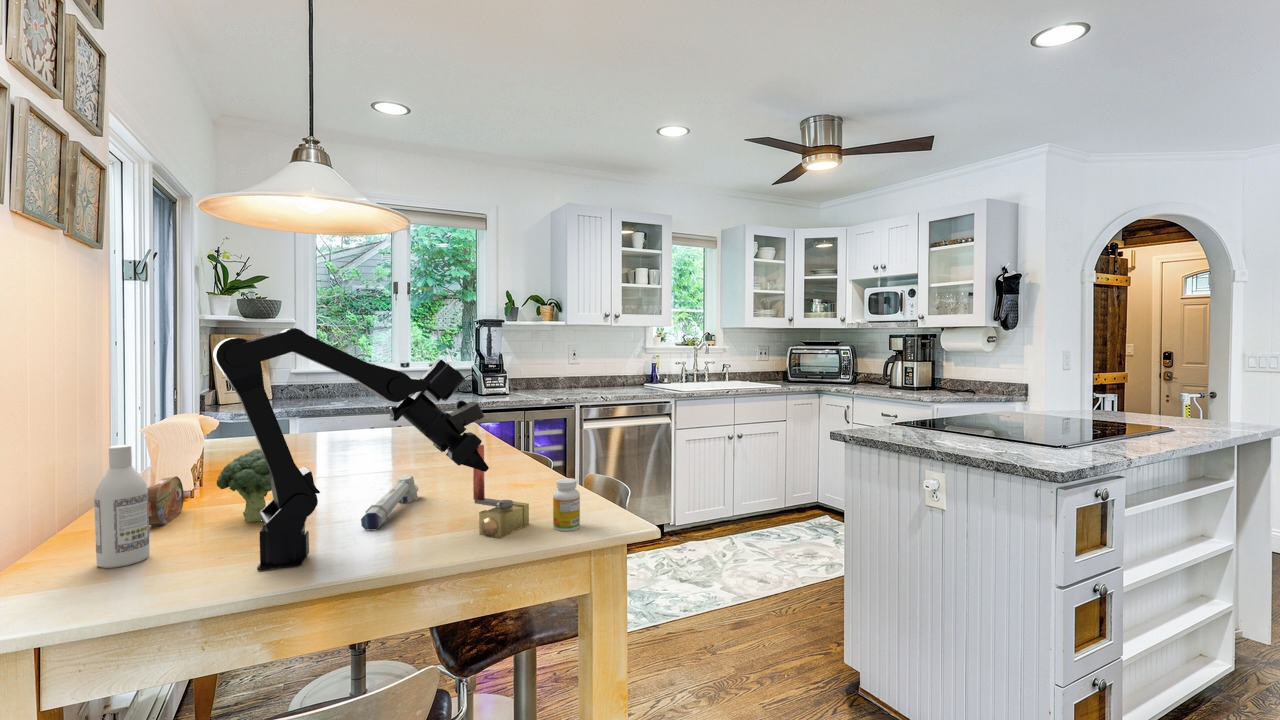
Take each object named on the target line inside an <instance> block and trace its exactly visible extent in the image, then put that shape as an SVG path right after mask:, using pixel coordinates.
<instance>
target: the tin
mask: <svg viewBox="0 0 1280 720" xmlns="http://www.w3.org/2000/svg"><path fill="white" fill-rule="evenodd" d="M183 487H184V486H183V483H182V481H181V479H180V477H179V476H172V477H164V478H161V479H160V480H158V481H156V482H155V483H153V484H152V485H150V486H147V489H148V509H149V527H150V526H151V527H153V526H154V527H155V526H161V525H162V526H163V525H164V526H165V525H168V524H169V523H171V522H172V520H174V519H175V518H176V517H178V516H179V515H180V514H181V512H182V511H183V506H184V499H185V498H184V497H185V496H184V494H185V493H184V488H183ZM167 523H168V524H167Z"/></svg>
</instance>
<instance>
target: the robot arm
mask: <svg viewBox="0 0 1280 720" xmlns="http://www.w3.org/2000/svg"><path fill="white" fill-rule="evenodd" d="M290 353H294V354H296V355H299V356H301V357H303V358H305V359H307V360H310V361H311V362H314V363H316V364H318V365H321V366H323V367H325V368H327V369H329V370H331V371H333V372H335V373H337V374H338V373H339V374H341V375H343V376H345V377H348V378H350V379H352V380H354V381H355V382H356V383H358V385H360V386H362V387H363V388H365V389H366V390H367V391H369V392H370V393H372V394H374V396H376V397H378V398H379V399H381V400H385V401H389V402H392V403H398V405H396V406H390V407H389V420H390V421H392V422H397V421H399V420H400V419H401V417H403V418H404V419H405V420H406V421H408V422H409V424H411V425H412V426H413V427H414V428H416V429H417V430H418V431H419V432H420V433H421V434H422V435H423V436H425V437H426V438H427V439H428V440H429V441H431V442H432V445H433V446H434V447H435V448H436V449H437V450H438V451H439V452H441V453H444V452H446V451H447V453H446V454H445V456H446V457H448V458H449V459H450V460H451V461H453V463H455V464H456V465H457V466H458V467H459V466H465V467H469V468H471V469H473V468H475V469H478V470H481V471H484V473H485V472H487V471H488V470H489V469H490V467H489V465H488V463H486V461H485V459H484V460H483V458H482V457H481V455H480V454H479V453H478V451H477V449H476V448H477V447H478V446H479V445H482V441H483V440H482V439H481V438H479V437H478V436H477V435H476V434H475V433H473V432H470V431H469V432H465V431H467V428H466V427H467V426H468V425H471V424H473V423H475V421H478V420H479V421H480V420H482V419H483V418H485V415H484V412H483V410H482V409H481V407H480V404H479V402H477V401H473V400H472V401H469V402H466V401H465V400H462V399H460V400H458V401H456V402H455V404H454V409H453V410H452V411H451V412H450V413H449V412H447V411H445V410H442V409H441V408H440V407H439V406H438V405H437V404H436V403H439V402H440V401H444V402H447V401H448V400H449V399H450V397H452V395H454V393H455V392H456V391H457V390H458V389H459V388H460V387H461V386H462V385H463V383H464V382H465V381H466V379H465V377H464V376H463V374H462V373H461V372H460V371H459V370H457V369H456V368H454V367H452V366H451V365H450V364H448V363H446V362H445V361H444V360H443V359H436V360H435V361H434V362H433V363H432V365H431V366H430V368H429V369H428V370H427V371H426V372H425V373H424V374H423V375H422V376H421V377H416V376H412V377H411V376H409V375H408V374H407V373H405V372H402V371H399V370H395V369H392V368H389V367H384V366H381V365H377V364H373V363H369V362H367V361H364V360H362V359H360V358H358V357H356V356H354V355H352V354H350V353H347V352H345V351H343V350H341V349H339V348H338V347H335V346H333V345H331V344H329V343H326V342H324V341H322V340H320V339H317V338H316V337H313V336H311V335H309V334H307V333H306V332H305V331H304V330H302V329H300V328H296V327H295V328H286V329H283V330H282V331H278V332H276V333H275V332H274V333H272V334H267V335H263V336H259V337H254V338H250V339H246V338H241V337H230V338H225V339H223V340H221V341H220V342H219V343H217V345H216V346H215V347H214V350H213V354H212V355H213V360H214V362H215V365H217V367H218V369H219V370H220V372H221V373H222V375H223V376H224V378H225V379H226V380H227V382H228V383H229V385H230V386H231V387H232V389H233V390H234V392H235V393H236V394H237V396H238V398H239V401H240V403H241V405H242V408H243V410H244V413H245V415H246V417H247V420H248V422H249V424H250V427H251V430H252V432H253V435H254V437H255V439H256V442H257V444H258V446H259V449H261V451H262V454H263V456H264V458H265V461H266V463H267V466H268V468H269V473H270V482H271V489H272V490H271V493H272V494H271V495H272V498H273V499H271V500H270V501H269V502H268V503H267V504H266V507H265V508H264V509H263V510H262V511H261V512H260V513H259V515H260V517H261V519H262V521H261V522H262V523H263V524H264V525H263V526H262V527H261V529H260V530H259V564H258V565H257V567H256V570H257V571H266V570H267V571H268V570H275V569H277V570H278V569H284V568H292V567H299V566H302V565H303V563H304V561H305V560H306V559H307V558H308V556H309V553H310V537H309V536H310V533H309V532H310V531H309V530H306V521H307V519H308V517H309V516H310V515H312V514H313V513H314V511H315V510H316V508H317V506H318V505H319V504H318V503H319V502H318V501H319V500H318V495H317V494H319V495H320V494H321V491H320V490H319V489H318V488H317V487H316V485H315V482H314V481H315V480H314V477H313V473H312V471H311V470H310V469H309V468H308V467H306V465H303V466H302V467H300V468H299V467H298V466H297V465H296V463H295V461H294V458H293V456H292V453H291V451H290V449H289V446H288V444H287V441H286V439H285V437H284V433H283V431H282V429H281V426H280V425H279V422H278V419H277V417H276V414H275V412H274V409H273V407H272V404H271V402H270V399H269V396H268V395H267V392H266V389H265V383H264V372H263V367H262V363H261V362H264V361H267V360H270V359H274V358H277V357H280V356H283V355H286V354H290ZM424 393H425V394H424ZM411 394H413V395H412V396H411ZM427 396H428V397H427ZM432 400H433V401H435V402H436V403H434V402H433V401H432Z"/></svg>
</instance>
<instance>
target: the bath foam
mask: <svg viewBox="0 0 1280 720" xmlns="http://www.w3.org/2000/svg"><path fill="white" fill-rule="evenodd" d="M132 452H133V451H132V445H131V444H119V445H111V446H109V447H108V463H109V468H108V469H107V470H106V472H105V474H104V475H103V476H101V479H100V480H99V482H98V484H97V486H96V488H95V491H94V499H93V502H94V503H93V504H94V506H93V507H94V527H95V528H94V534H95V537H94V538H95V557H96V558H95V559H96V565H97V566H98V567H100V568H105V569H110V568H114V569H115V568H122V567H128V566H131V565H134V564H137V563H140V562H142V561H144V560H146V559H148V557H149V556H150V555H151V554H150V553H151V552H150V551H151V550H150V548H151V547H150V546H151V545H150V525H149V509H148V489H147V488H148V486H147V483H146V481H145V479H144V477H143V476H142V475H141V473H139V471H138V470H136V469H135V467H134V466H133V460H132V459H133V458H132V457H133V456H132V455H133V454H132Z"/></svg>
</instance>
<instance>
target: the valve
mask: <svg viewBox="0 0 1280 720" xmlns="http://www.w3.org/2000/svg"><path fill="white" fill-rule="evenodd" d="M512 501H513V500H512ZM478 515H479V517H478V518H479V520H478V522H479V523H478V527H479V529H478V530H479V533H478V534H479V535H481V536H485V537H488V538H496V537H497V538H496V539H502V538H504V537H506V536H508V535H510V534H511V532H512V533H514V532H516V531H518V530H520V529H521V528H525V527H527V526H529V525H530V503H527V502H521V501H513V507H512V508H509V509H498V508H497V507H495V506H494V507H492V508H490V509H488V510H486V509H483V510H482V511H479V512H478ZM515 530H516V531H515ZM513 531H514V532H513Z"/></svg>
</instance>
